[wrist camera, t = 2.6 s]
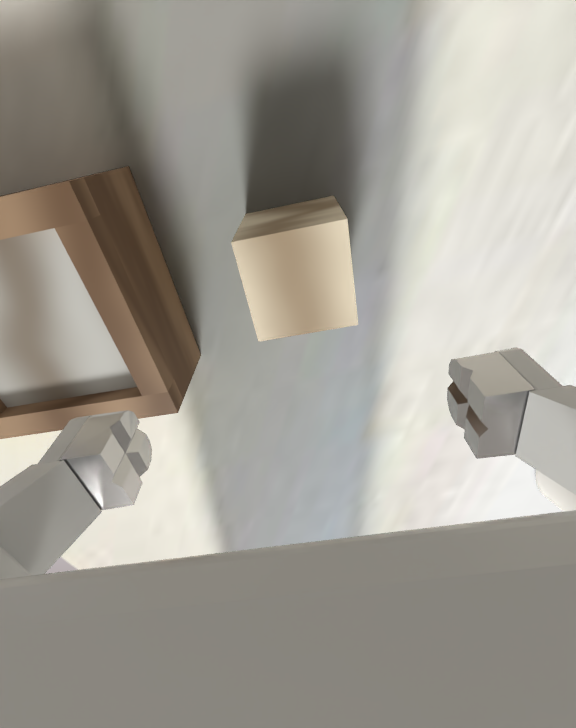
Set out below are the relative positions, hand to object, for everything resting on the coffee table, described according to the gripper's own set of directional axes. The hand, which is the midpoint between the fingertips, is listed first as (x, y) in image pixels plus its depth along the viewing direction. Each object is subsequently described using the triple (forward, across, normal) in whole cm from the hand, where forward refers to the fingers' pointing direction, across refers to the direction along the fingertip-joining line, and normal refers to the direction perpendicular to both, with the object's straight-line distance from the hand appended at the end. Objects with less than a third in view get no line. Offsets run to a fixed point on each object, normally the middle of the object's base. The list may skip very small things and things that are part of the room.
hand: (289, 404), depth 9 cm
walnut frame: (+15, +13, 0) cm, 20 cm away
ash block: (+15, -1, 0) cm, 15 cm away
